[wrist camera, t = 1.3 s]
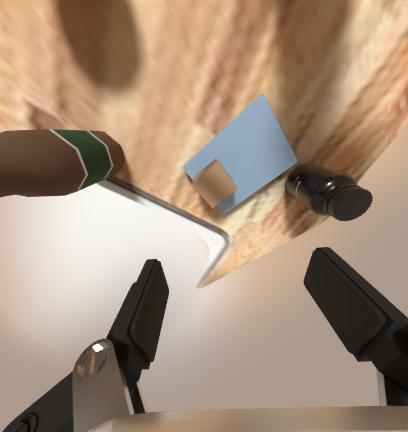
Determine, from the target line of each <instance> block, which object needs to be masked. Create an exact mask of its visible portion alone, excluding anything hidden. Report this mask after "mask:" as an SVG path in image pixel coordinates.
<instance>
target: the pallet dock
mask: <svg viewBox="0 0 408 432" xmlns="http://www.w3.org/2000/svg"><path fill="white" fill-rule="evenodd" d="M214 159H217V160H218V162H219V163H220V164H221V166H222V167H223V168H224V170H225V171H226V172H227V173H228V175H229V176H230V177H231V179H232V180H233V182H234V183H235V185H236V186H237V188H238V190H237V191H235V192H234V193H233V194H231V195H230V196H229V197H227V198H226V199H225V200H223V201H222V202H221V203H219V204H218V205H217V206H216V207H217V208H218V209H219V210H220V212H221V213H222V214H223V215H224V214H225V213H226V212H228V211H229V210H231V209H232V208H233V207H235V206H236V205H238V204H239V203H241V202H242V201H243V200H245V199H246V198H248V197H249V196H250V195H252V194H253V193H255V192H256V191H258V190H259V189H260V188H262V187H263V186H265V185H266V184H267V183H269V182H270V181H272V180H273V179H274V178H276V177H277V176H279V175H280V174H282V173H283V172H284V171H286V170H287V169H289V168H290V167H291V166H293V165H294V164H296V163H297V162H299V161H298V159H297V157H296V156H295V154H294V152H293V150H292V148H291V146H290V144H289V142H288V140H287V138H286V136H285V134H284V132H283V130H282V128H281V127H280V125H279V123H278V121H277V119H276V117H275V115H274V113H273V111H272V109H271V107H270V105H269V103H268V101H267V100H266V98H265V96H264V94H262V95H261V96H259V97H258V98H256V99H255V100H254V101H253V102H252V103H251V104H250V105H249V106H248V107H247V108H246V109H245V110H243V111H242V112H241V113H240V114H239V115H238V116H237V117H236V118H235V119H234V120H233V121H232V122H230V123H229V124H228V125H227V126H226V127H225V128H224V129H223V130H222V131H221V132H220V133H218V134H217V135H216V136H215V137H214V138H213V139H212V140H211V141H210V142H209V143H208V144H207V145H205V146H204V147H203V148H202V149H201V150H200V151H199V152H198V153H197V154H196V155H195V156H194V157H192V158H191V159H190V160H189V161H188V162H187V163H186V164H185V165H184V166H183V169H184V171H185V172H186V173H187V174H188V175H189V176H190V177H191V179H192V180H193V179H194V177H195V176H196V175H197V174H198V173H199V172H201V171H202V170H203V169H204V168H205V167H206V166H207V165H209V164H210V163H211V162H212V161H213V160H214Z"/></svg>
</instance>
